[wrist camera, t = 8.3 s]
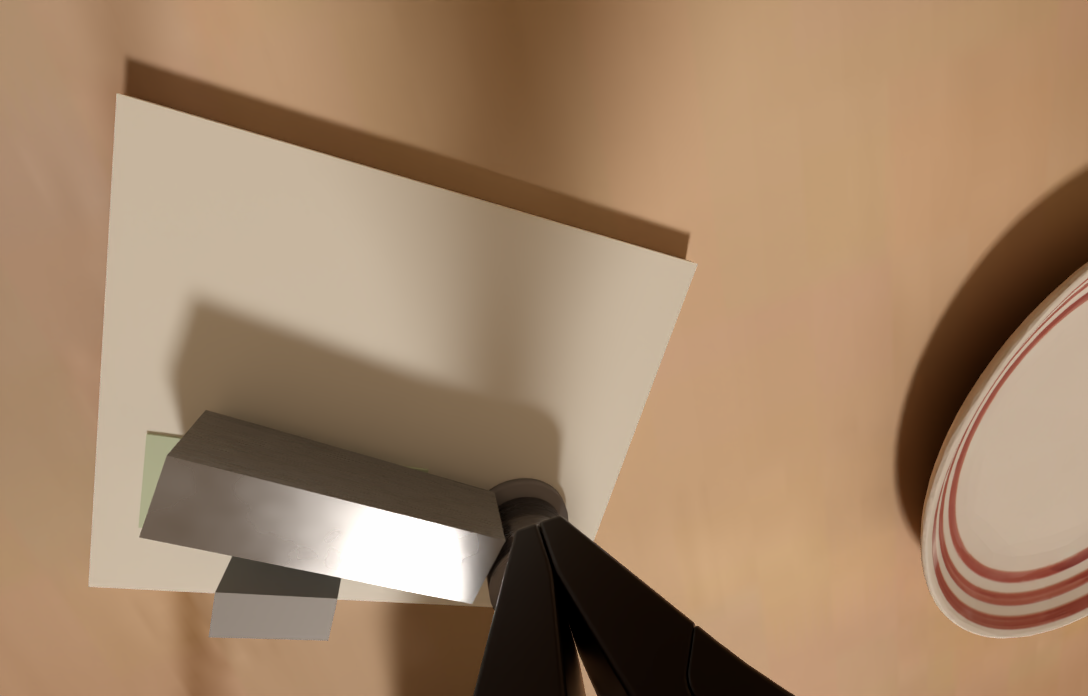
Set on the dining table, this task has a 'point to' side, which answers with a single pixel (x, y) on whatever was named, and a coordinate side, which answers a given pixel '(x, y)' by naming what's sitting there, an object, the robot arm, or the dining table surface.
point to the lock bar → (333, 511)
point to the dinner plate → (1017, 482)
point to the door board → (352, 344)
